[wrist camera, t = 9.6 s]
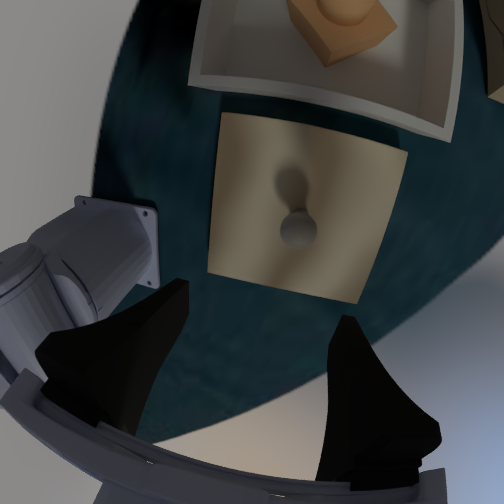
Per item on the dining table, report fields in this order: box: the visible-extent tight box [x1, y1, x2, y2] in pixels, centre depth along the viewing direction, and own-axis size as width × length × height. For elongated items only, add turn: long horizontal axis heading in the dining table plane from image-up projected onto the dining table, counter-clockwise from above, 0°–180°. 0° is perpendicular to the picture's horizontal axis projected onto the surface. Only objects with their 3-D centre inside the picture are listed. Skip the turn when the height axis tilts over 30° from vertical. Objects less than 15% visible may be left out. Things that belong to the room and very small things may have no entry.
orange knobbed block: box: [286, 0, 398, 68], centre depth 9 cm, size 4×4×8 cm
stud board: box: [208, 112, 408, 304], centre depth 17 cm, size 12×12×5 cm
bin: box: [188, 0, 464, 143], centre depth 11 cm, size 14×11×5 cm
